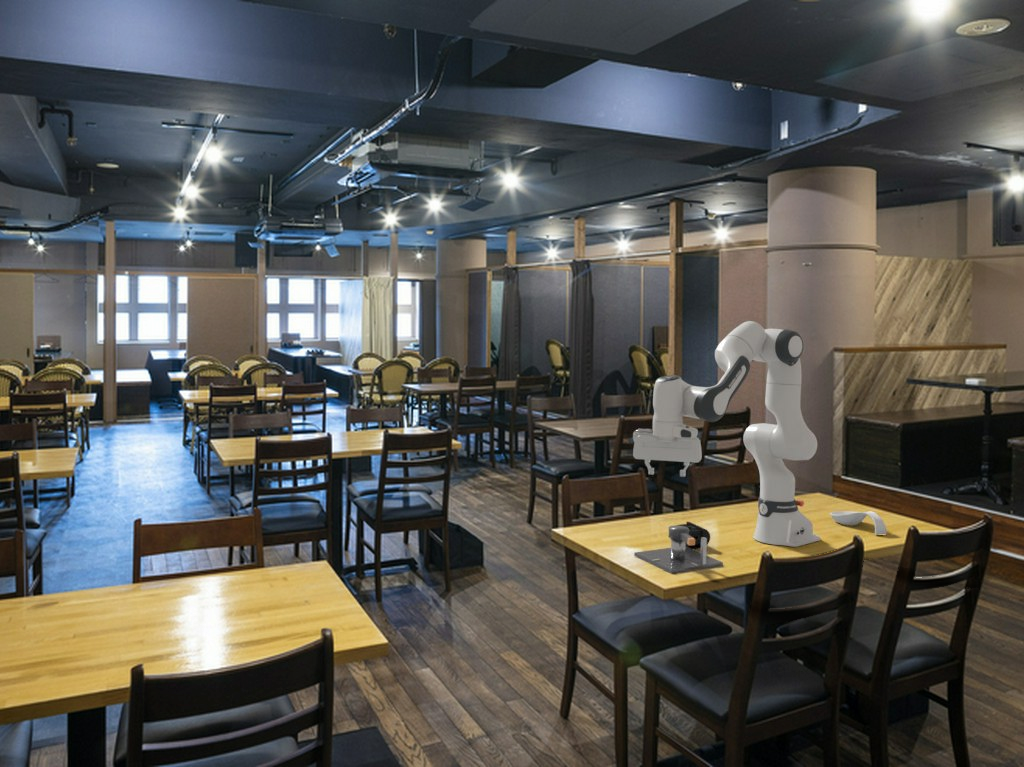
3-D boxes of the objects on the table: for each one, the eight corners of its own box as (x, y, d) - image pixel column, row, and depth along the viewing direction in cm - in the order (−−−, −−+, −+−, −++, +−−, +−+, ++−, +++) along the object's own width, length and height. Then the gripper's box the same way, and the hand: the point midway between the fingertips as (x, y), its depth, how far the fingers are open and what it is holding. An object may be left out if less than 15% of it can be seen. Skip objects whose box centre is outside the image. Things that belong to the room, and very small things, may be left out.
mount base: (683, 548, 258) (684, 521, 258) (722, 565, 241) (723, 536, 240) (634, 555, 250) (635, 527, 249) (671, 573, 233) (672, 543, 232)
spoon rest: (822, 520, 298) (823, 501, 298) (849, 518, 302) (849, 500, 301) (868, 537, 276) (869, 517, 275) (896, 535, 279) (897, 515, 278)
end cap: (710, 548, 259) (710, 528, 259) (691, 550, 257) (691, 529, 257) (693, 540, 269) (694, 520, 268) (675, 542, 267) (675, 522, 266)
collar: (665, 535, 248) (665, 525, 247) (683, 534, 249) (684, 525, 248) (682, 547, 234) (682, 537, 234) (701, 546, 235) (702, 536, 235)
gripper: (631, 429, 241) (630, 474, 242) (700, 432, 234) (699, 479, 235) (635, 426, 247) (634, 470, 248) (702, 429, 240) (702, 475, 241)
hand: (666, 475), depth 241 cm, fingers open, 8 cm apart
